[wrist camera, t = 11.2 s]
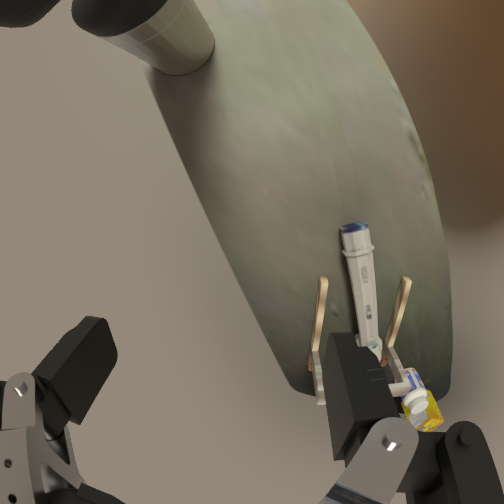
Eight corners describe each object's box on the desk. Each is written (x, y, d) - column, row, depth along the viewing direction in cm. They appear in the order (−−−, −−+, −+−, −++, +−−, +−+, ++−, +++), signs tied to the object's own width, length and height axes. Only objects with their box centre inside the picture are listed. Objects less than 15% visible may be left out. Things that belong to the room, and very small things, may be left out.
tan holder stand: (317, 276, 41) (333, 324, 29) (408, 276, 40) (443, 317, 29) (306, 363, 47) (312, 415, 36) (383, 359, 46) (402, 405, 35)
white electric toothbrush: (375, 223, 34) (389, 372, 39) (361, 217, 40) (378, 351, 45) (338, 232, 34) (359, 380, 39) (329, 224, 41) (352, 358, 46)
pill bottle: (390, 385, 49) (403, 419, 40) (397, 368, 47) (412, 402, 38) (411, 381, 49) (425, 413, 40) (419, 364, 47) (435, 397, 38)
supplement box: (413, 403, 52) (426, 436, 42) (399, 400, 52) (411, 435, 41) (429, 388, 50) (445, 421, 40) (416, 384, 49) (431, 419, 39)
